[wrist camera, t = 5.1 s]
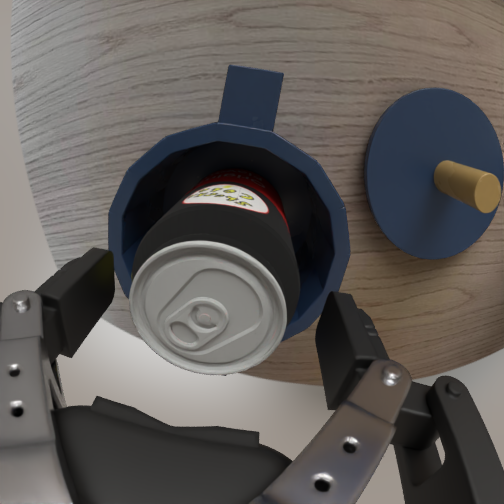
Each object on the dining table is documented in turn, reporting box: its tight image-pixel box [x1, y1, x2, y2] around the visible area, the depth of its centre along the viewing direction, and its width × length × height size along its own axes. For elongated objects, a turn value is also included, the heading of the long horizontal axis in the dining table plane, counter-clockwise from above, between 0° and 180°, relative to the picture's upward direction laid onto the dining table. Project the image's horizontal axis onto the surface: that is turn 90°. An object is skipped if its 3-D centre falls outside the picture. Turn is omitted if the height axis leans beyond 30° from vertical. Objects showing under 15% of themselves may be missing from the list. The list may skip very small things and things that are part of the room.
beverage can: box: [129, 168, 300, 375], centre depth 15 cm, size 6×6×12 cm
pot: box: [108, 65, 351, 376], centre depth 17 cm, size 12×17×7 cm
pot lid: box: [364, 88, 504, 259], centre depth 16 cm, size 13×13×6 cm
